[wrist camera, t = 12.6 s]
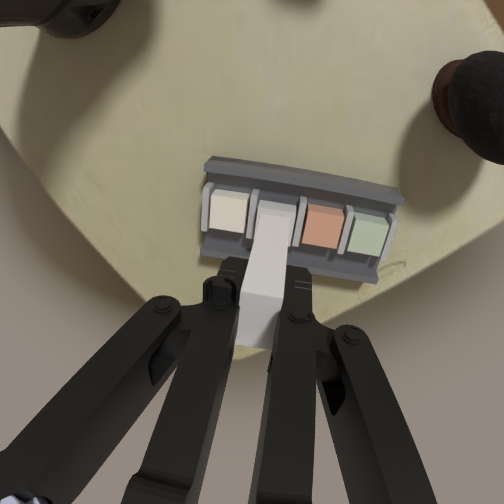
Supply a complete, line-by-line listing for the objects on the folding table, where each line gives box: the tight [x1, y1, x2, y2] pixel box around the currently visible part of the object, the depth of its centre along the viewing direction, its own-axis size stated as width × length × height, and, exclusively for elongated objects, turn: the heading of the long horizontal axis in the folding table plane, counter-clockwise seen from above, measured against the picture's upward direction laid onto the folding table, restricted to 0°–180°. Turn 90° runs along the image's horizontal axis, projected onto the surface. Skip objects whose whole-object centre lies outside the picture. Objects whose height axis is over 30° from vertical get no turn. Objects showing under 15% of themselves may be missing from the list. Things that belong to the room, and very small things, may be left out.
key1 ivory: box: [209, 189, 250, 233], centre depth 42 cm, size 4×4×2 cm
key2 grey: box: [254, 200, 296, 247], centre depth 40 cm, size 4×4×2 cm
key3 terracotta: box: [302, 203, 344, 249], centre depth 41 cm, size 4×4×2 cm
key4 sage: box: [346, 212, 389, 256], centre depth 41 cm, size 4×4×2 cm
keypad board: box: [200, 156, 405, 284], centre depth 42 cm, size 25×13×4 cm, turn 84°
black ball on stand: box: [433, 51, 504, 165], centre depth 26 cm, size 13×13×15 cm
